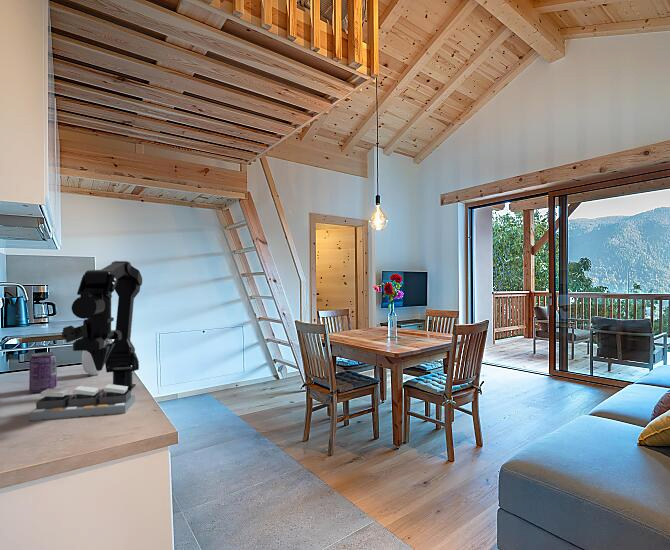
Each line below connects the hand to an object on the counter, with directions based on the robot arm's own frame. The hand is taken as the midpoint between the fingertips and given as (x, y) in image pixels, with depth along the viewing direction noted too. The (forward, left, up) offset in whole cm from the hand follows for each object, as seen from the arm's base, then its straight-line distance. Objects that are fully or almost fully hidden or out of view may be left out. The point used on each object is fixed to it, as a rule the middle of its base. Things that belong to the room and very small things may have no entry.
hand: (99, 370), depth 107 cm
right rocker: (0, +4, -6) cm, 7 cm away
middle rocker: (0, -3, -6) cm, 7 cm away
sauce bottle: (-43, -15, -11) cm, 47 cm away
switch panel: (0, -3, -11) cm, 12 cm away
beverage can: (-25, -24, -11) cm, 37 cm away
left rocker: (0, -11, -6) cm, 12 cm away
